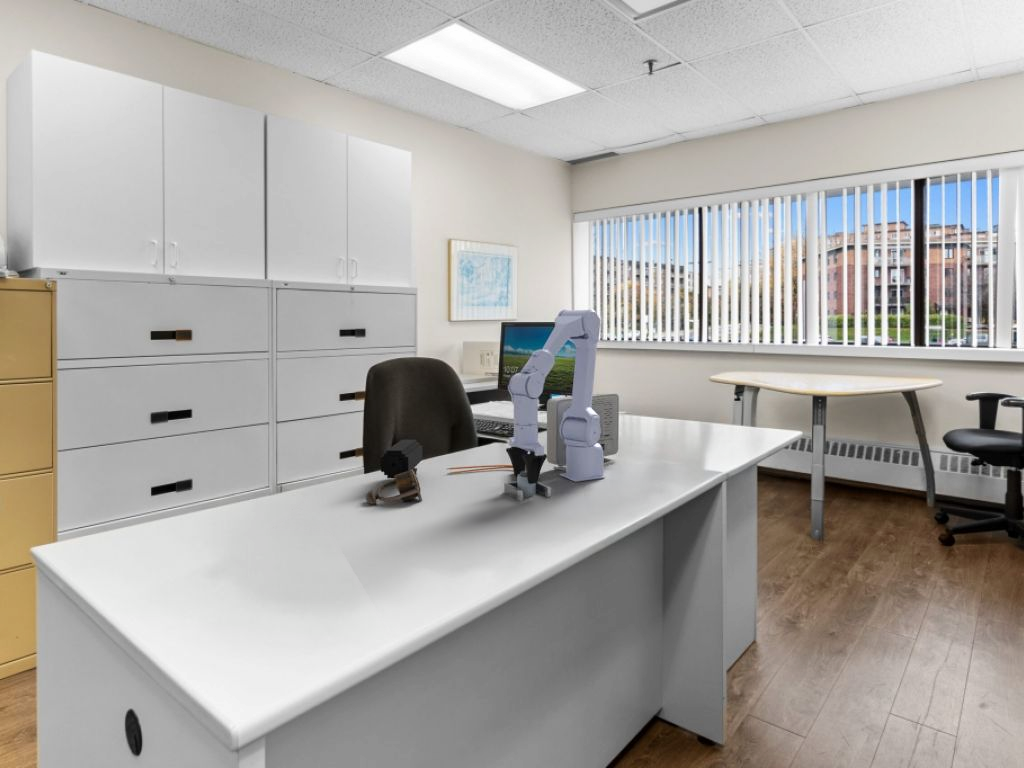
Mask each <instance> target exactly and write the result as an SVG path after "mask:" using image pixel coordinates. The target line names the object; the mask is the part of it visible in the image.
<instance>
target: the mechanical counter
mask: <svg viewBox="0 0 1024 768" xmlns="http://www.w3.org/2000/svg"><path fill="white" fill-rule="evenodd" d="M394 477H395V478H394V479H393V480H390V481H387V482H386V483H384V484H382V485H381V486H380V487H379V488H378V489H377V491H376V492H374V491H373V490H369V491H368V492H367V493H366V497H365V499H366V501H367V503H368V504H370V505H371V506H372V505H377V500H379V501H381V502H394V501H397V500H401V502H407V501H409V500H411V499H414V498H415V499H416V498H418V500H419V501H420V502H422V501H423V498H422V494H421V486H420V482H419V479H418V476H417V474H415V472H414V471H413V470H409V471H407V472H404V473H401V474H398V475H395V476H394ZM393 485H396V486H397V490H398V493H399V494H396V495H394V496H390V497H383V496H381V495H380V494H381V492H382V491H383V490H384V489H386V488H388V487H390V486H393Z"/></svg>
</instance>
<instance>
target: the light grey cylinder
mask: <svg viewBox="0 0 1024 768" xmlns="http://www.w3.org/2000/svg"><path fill="white" fill-rule="evenodd" d="M516 479H517V488H518V489H520V490H521V491H523V497H534V496H535V495H536V492H537V491H536V483H535V484H529V483H528V479H527V471H521V472H520V474H518V475H517V477H516ZM533 495H534V496H533Z"/></svg>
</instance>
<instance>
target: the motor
mask: <svg viewBox="0 0 1024 768" xmlns="http://www.w3.org/2000/svg"><path fill="white" fill-rule="evenodd" d="M460 469H461V470H460ZM463 469H465V470H463ZM499 469H513V466H512V464H511V465H510V464H509V465H508V464H496V465H495V464H493V465H491V464H490V465H473V466H470V465H469V466H458V467H456V466H455V467H448V468H446V470H457V471H450V472H447V475H450V474H451V475H453V474H459V473H460V474H461V473H469V472H478V471H486V470H499ZM525 471H527V470H526V465H525Z"/></svg>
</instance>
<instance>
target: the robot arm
mask: <svg viewBox="0 0 1024 768" xmlns="http://www.w3.org/2000/svg"><path fill="white" fill-rule="evenodd" d="M600 329H601V318H600V317H599V315H598V313H597V311H596V310H594V309H592V308H590V309H571V310H568V309H562V310H560V311H559V312H558V314H557V315H556V317H555V319H554V328H553V330H552V331H551V333H550V335H549V337H548V339H547V340H546V342H545V344H544V345H543V347H542V349H537V350H534V351H533V352H532V353H531V356H530V358H529V359H528V361H526V363H525V365H524V366H523V367H522V369H521V371H520V372H518V373H515V374H514V375H512V377H510V379H509V382H508V383H509V384H508V385H507V390H508V392H509V394H510V397H511V402H512V404H513V436H512V437H508V443H509V444H508V445H509V447H507V448H506V449H505V451H506V453H507V454H508V457H509V459H510V462H511V465H512V466H513V468H512V470H513V475H514V477H515V478H517V475H518V474H520V472H521V471H525V465H526V470H527V479H528V483H529V484H535V483H538V482H539V479H540V473H541V471H542V467H543V465H544V463H545V461H546V460H547V453H545V447H544V446H543V445H541V443H540V442H539V427H538V426H539V423H538V422H539V420H538V419H539V418H538V416H539V414H538V413H539V409H538V407H539V406H538V405H539V403H538V402H539V401H538V400H539V399H538V398H539V397H540V396H541V394H543V390H544V385H545V383H546V378H547V376H548V375H549V374H550V372H551V370H552V369H553V367H554V366H555V364H556V363H555V362H556V361H555V356H556V355H557V354H558V352H559V351H561V349H562V348H563V346H564V345H565V344H566V343H567V342H568V341H570V342H571V343H573V345H574V346H575V348H576V350H575V361H574V371H573V372H574V373H573V384H572V393H571V396H572V403H571V407H570V408H569V409H568V410H566V411H565V412H564V413H563V419H562V422H561V424H560V429H559V431H560V436H561V438H562V439H563V440H564V443H565V444H566V465H565V468H566V471H565V472H562V473H561V472H560V473H559V476H561V477H563V478H566V479H568V480H570V481H572V482H575V483H576V482H583V481H590V480H591V481H592V480H597V479H605V478H606V476H605V475H604V466H603V465H604V463H605V461H604V458H605V456H604V454H603V449H602V447H601V445H600V444H598V443H597V441H598V440H599V438H600V435H601V428H600V416H599V415H598V414H597V413H596V412H595V411H594V410H593V409H592V408H591V407H592V396H593V394H594V385H595V383H594V382H595V375H596V374H595V373H596V372H595V371H596V360H597V351H598V350H597V348H598V342H599V340H600ZM577 417H580V418H585V419H586V420H582V419H576V418H577Z"/></svg>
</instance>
